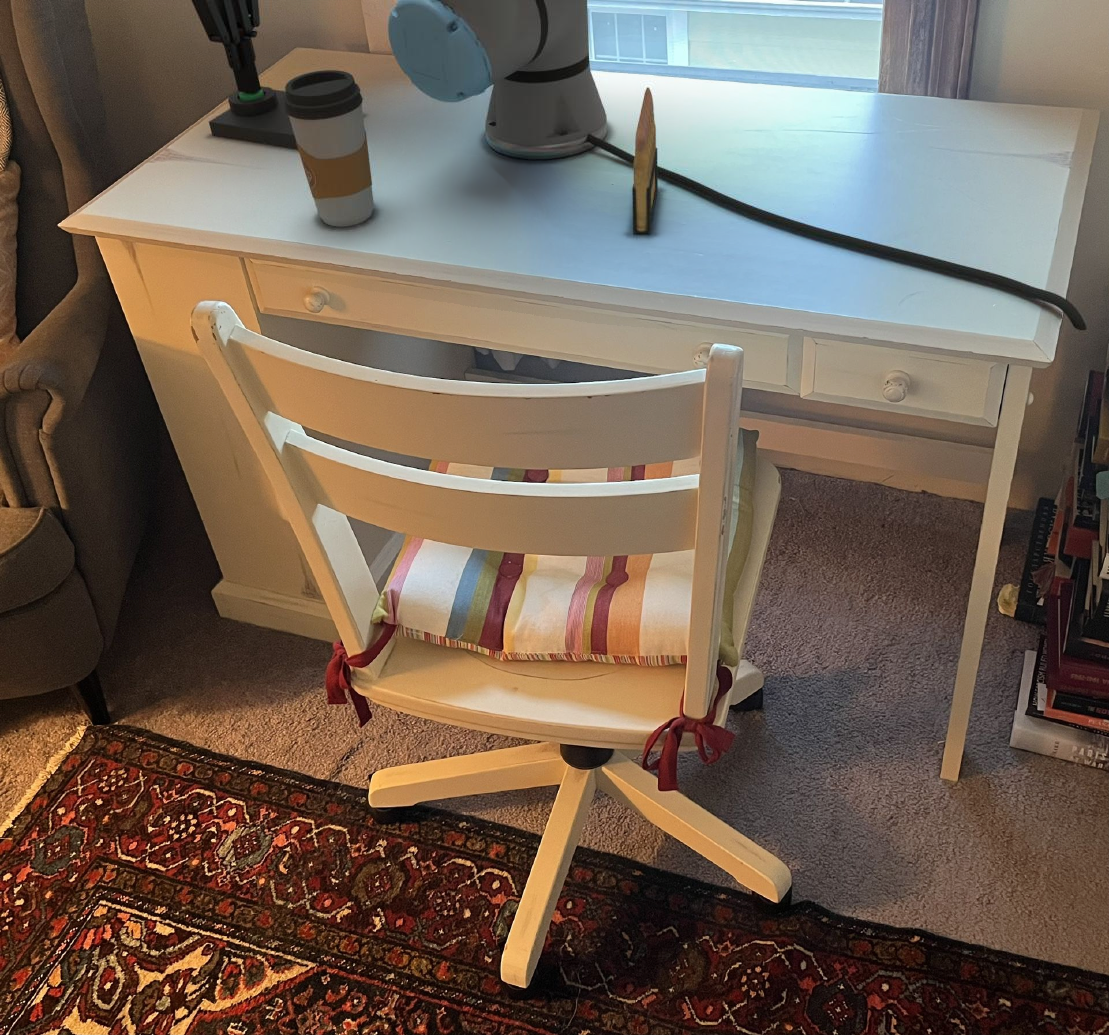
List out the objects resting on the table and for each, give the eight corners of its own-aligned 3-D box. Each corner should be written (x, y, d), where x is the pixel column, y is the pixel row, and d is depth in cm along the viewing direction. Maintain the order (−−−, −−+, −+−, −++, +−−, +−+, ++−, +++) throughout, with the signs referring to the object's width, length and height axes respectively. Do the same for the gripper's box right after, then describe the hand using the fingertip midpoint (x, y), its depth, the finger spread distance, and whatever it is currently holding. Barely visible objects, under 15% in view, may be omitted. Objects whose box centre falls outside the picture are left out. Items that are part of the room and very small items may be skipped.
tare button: (270, 100, 146) (267, 89, 145) (255, 109, 144) (252, 98, 143) (251, 98, 147) (249, 86, 146) (237, 107, 145) (233, 95, 144)
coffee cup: (302, 209, 126) (271, 79, 116) (370, 191, 129) (345, 62, 119) (322, 238, 121) (291, 104, 111) (393, 219, 123) (369, 86, 113)
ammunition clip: (650, 234, 116) (649, 124, 108) (632, 234, 117) (630, 124, 109) (657, 189, 124) (657, 83, 116) (641, 189, 124) (639, 84, 116)
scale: (362, 115, 146) (357, 89, 144) (309, 151, 139) (303, 124, 136) (267, 101, 152) (261, 76, 150) (211, 135, 145) (204, 109, 142)
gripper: (211, -124, 134) (258, 70, 150) (138, -97, 126) (195, 105, 142) (259, -121, 132) (301, 76, 147) (187, -93, 123) (240, 112, 139)
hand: (249, 90), depth 145 cm, fingers closed
